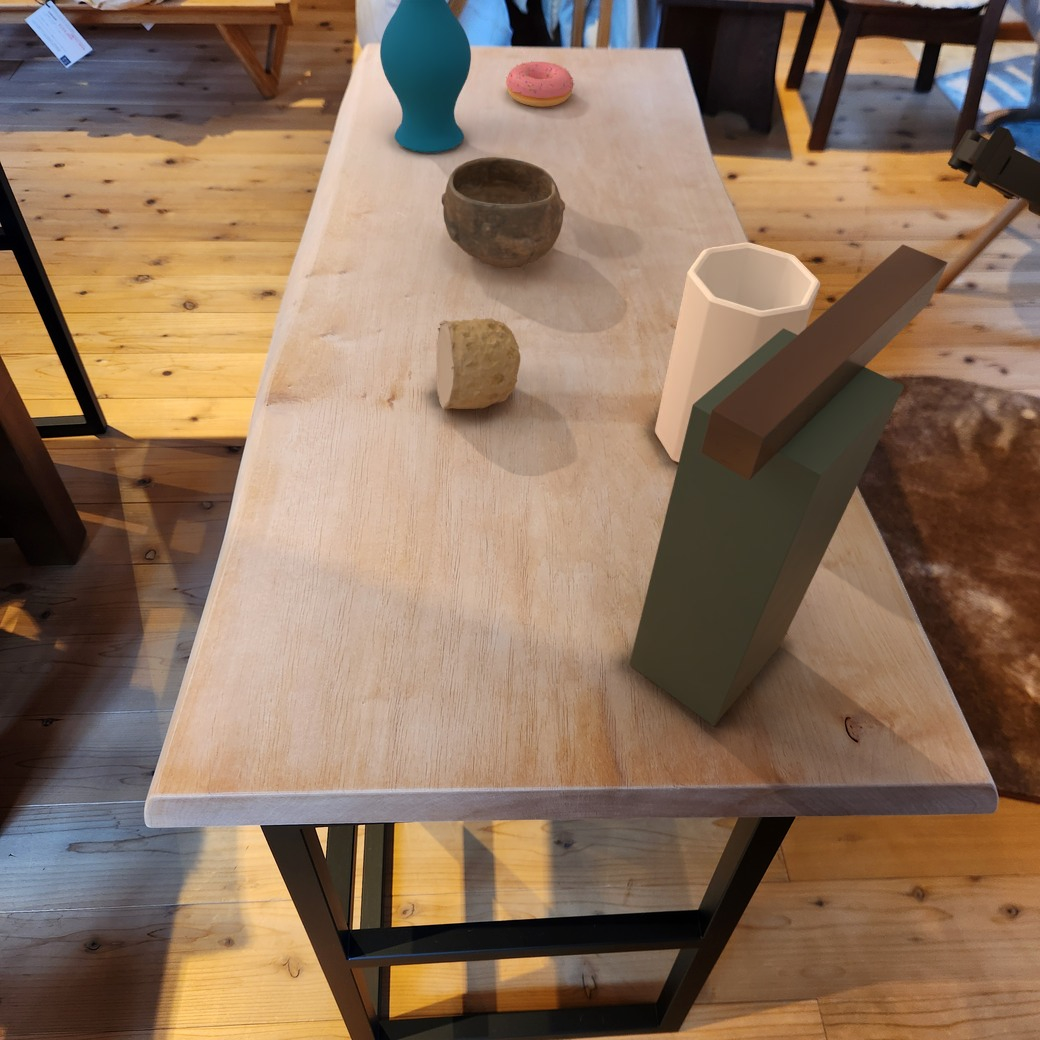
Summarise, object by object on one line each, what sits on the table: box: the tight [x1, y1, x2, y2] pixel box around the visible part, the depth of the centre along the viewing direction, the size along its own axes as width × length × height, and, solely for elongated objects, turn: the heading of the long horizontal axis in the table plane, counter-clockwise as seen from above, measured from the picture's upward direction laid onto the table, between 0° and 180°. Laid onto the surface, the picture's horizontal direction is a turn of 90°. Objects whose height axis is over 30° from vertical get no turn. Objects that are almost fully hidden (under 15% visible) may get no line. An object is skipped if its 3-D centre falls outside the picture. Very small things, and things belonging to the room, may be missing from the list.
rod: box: [701, 244, 948, 480], centre depth 48 cm, size 3×22×3 cm, turn 138°
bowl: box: [441, 156, 566, 270], centre depth 103 cm, size 14×15×10 cm
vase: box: [379, 0, 472, 154], centre depth 117 cm, size 12×13×28 cm
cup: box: [654, 242, 821, 463], centre depth 78 cm, size 11×11×18 cm
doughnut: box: [505, 60, 575, 108], centre depth 137 cm, size 11×11×4 cm
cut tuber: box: [436, 317, 521, 410], centre depth 85 cm, size 10×10×10 cm
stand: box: [628, 328, 905, 727], centre depth 58 cm, size 8×10×27 cm
